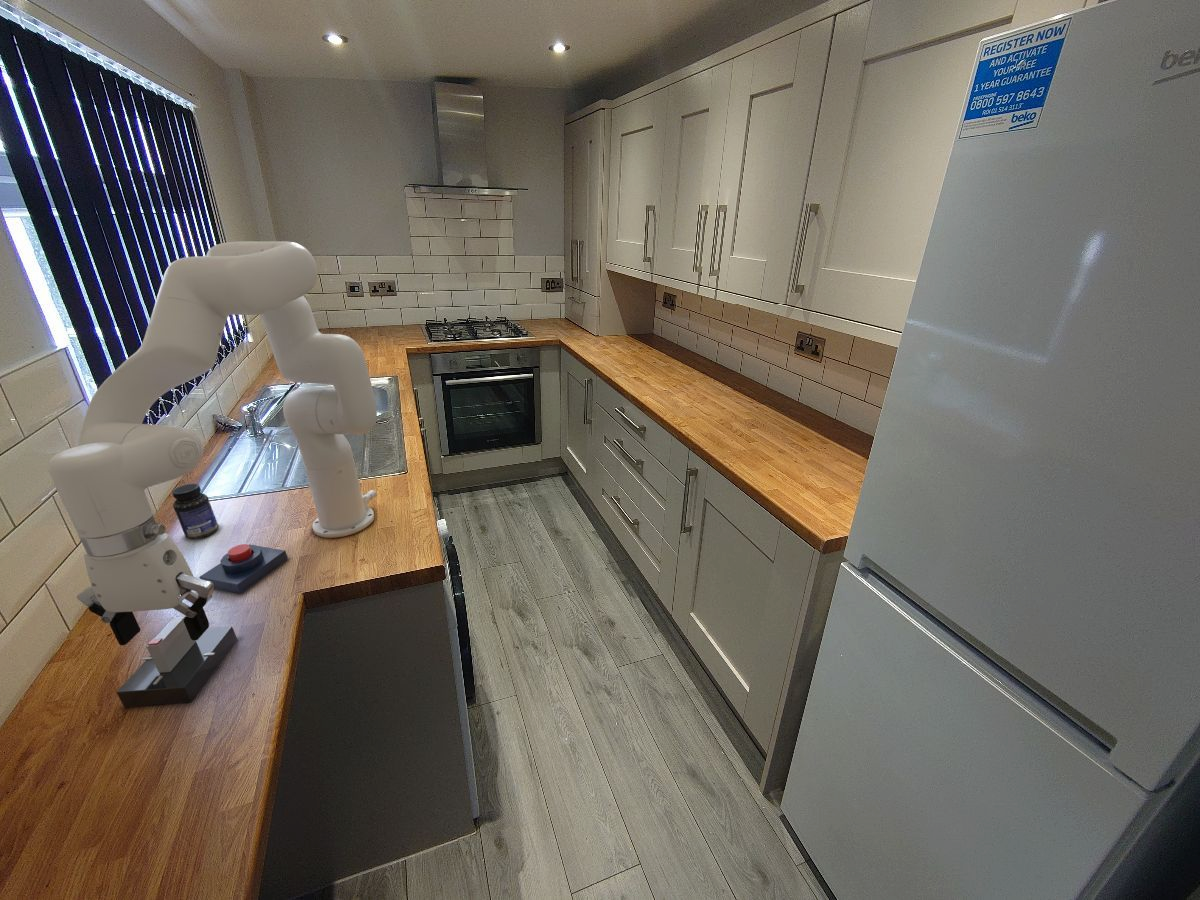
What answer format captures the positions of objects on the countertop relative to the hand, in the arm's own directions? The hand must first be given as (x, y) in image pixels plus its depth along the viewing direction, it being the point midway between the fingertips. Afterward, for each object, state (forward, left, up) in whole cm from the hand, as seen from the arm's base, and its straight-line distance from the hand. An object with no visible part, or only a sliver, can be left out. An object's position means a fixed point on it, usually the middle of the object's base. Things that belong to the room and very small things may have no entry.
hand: (166, 635), depth 76 cm
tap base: (0, 0, -7) cm, 7 cm away
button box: (-22, -12, -7) cm, 26 cm away
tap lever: (0, 0, -4) cm, 4 cm away
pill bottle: (-31, -34, -8) cm, 47 cm away
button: (-22, -12, -4) cm, 26 cm away
